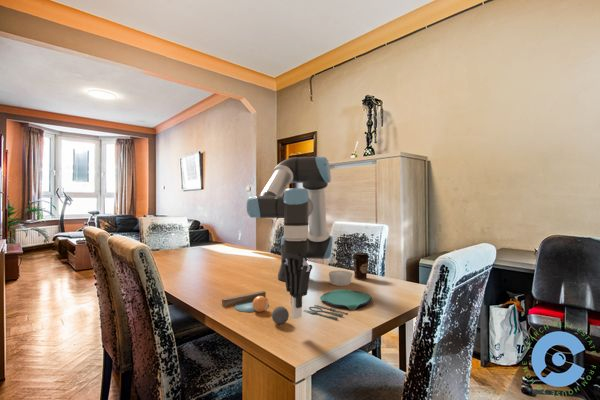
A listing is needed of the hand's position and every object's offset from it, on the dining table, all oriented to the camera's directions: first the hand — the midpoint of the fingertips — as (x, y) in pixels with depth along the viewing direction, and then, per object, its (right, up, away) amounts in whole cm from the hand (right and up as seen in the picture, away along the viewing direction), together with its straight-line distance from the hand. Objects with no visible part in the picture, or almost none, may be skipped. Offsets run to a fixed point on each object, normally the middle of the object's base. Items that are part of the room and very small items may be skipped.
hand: (296, 317), depth 93 cm
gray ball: (-5, -2, +8) cm, 10 cm away
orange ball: (-14, -3, +19) cm, 24 cm away
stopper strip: (-21, -5, +30) cm, 37 cm away
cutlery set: (+16, -6, +27) cm, 32 cm away
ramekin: (+21, -6, +57) cm, 61 cm away
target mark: (-17, -5, +25) cm, 31 cm away
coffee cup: (+33, -5, +66) cm, 74 cm away
